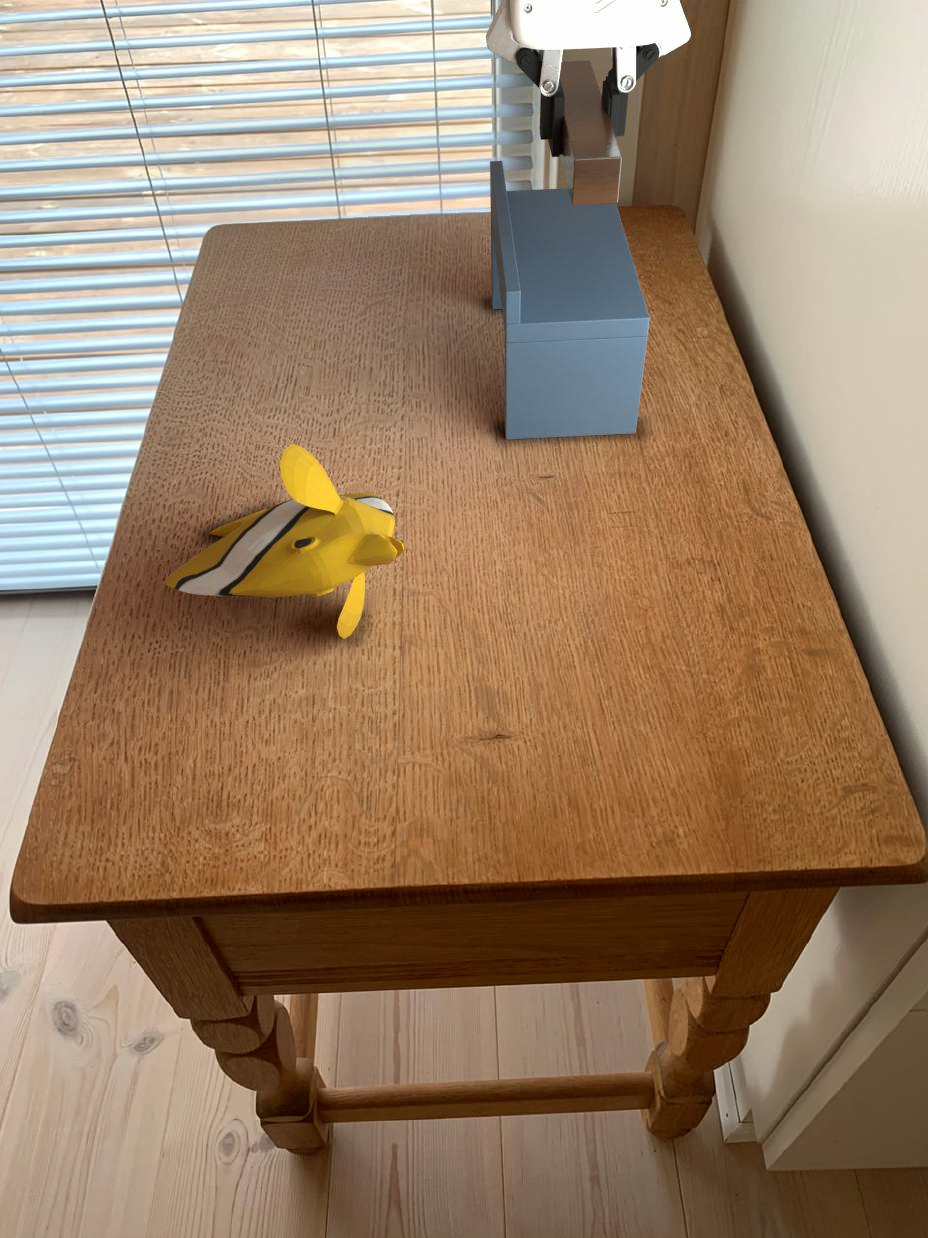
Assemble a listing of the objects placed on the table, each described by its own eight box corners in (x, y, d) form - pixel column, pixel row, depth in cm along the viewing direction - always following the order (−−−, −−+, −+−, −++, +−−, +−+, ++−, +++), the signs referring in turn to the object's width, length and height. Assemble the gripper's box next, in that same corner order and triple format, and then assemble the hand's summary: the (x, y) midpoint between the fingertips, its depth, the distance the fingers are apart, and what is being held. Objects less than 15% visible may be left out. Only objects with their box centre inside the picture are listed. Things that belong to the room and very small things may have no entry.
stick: (618, 203, 64) (622, 156, 61) (571, 205, 64) (574, 158, 61) (587, 102, 74) (590, 59, 72) (548, 104, 74) (549, 61, 72)
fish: (427, 419, 54) (171, 524, 49) (486, 617, 59) (259, 732, 54) (305, 400, 71) (103, 477, 65) (359, 556, 76) (176, 639, 70)
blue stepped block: (602, 295, 89) (613, 154, 79) (635, 433, 76) (654, 284, 66) (491, 300, 89) (490, 160, 79) (505, 439, 76) (505, 291, 66)
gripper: (456, -167, 52) (466, 177, 66) (763, -181, 52) (708, 166, 66) (452, -196, 57) (461, 129, 71) (732, -209, 57) (687, 119, 71)
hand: (581, 144), depth 69 cm, fingers closed on stick, 3 cm apart
